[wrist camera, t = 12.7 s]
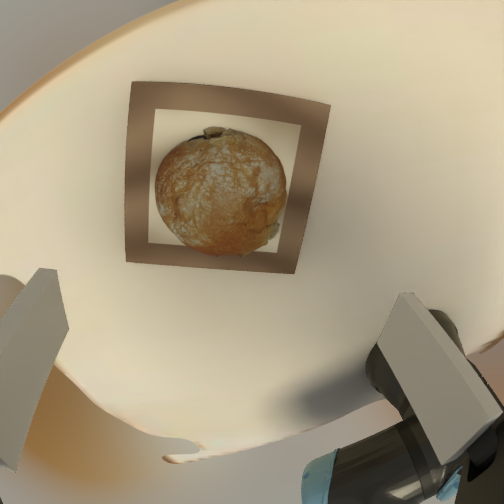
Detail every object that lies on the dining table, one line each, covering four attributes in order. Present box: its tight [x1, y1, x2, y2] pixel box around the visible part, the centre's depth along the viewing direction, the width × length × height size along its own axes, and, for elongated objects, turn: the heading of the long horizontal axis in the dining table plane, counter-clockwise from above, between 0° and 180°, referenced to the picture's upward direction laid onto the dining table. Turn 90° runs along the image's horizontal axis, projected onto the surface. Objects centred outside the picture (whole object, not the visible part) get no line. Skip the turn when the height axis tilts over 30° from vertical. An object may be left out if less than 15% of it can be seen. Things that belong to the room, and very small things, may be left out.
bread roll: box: [155, 126, 288, 257], centre depth 24 cm, size 10×10×8 cm
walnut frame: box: [125, 82, 331, 274], centre depth 26 cm, size 16×16×2 cm
